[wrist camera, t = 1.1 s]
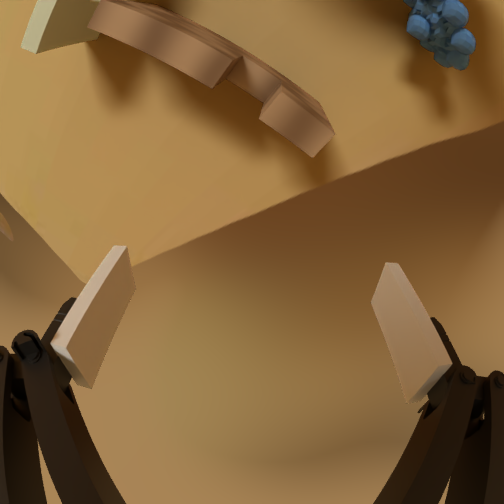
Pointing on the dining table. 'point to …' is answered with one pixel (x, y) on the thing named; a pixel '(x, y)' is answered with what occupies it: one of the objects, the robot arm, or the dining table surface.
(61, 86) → the dining table surface
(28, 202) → the dining table surface
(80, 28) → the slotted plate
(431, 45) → the grapes
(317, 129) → the slotted board
